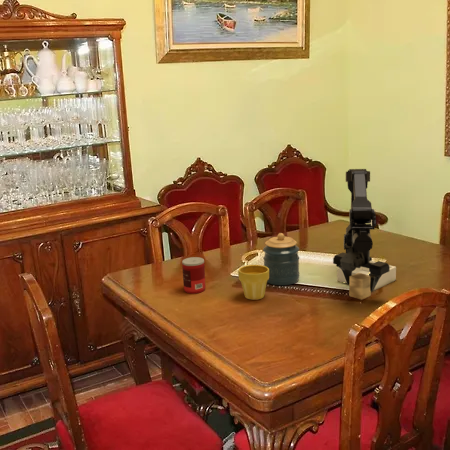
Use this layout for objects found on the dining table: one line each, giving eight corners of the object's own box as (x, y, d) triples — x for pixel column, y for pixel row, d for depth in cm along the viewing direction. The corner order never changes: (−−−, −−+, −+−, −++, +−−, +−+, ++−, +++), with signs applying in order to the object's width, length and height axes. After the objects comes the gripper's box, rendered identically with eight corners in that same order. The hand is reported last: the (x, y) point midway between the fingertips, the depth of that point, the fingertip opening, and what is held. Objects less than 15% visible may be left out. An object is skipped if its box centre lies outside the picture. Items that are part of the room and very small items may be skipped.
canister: (306, 278, 214) (306, 232, 210) (285, 288, 205) (284, 240, 201) (278, 271, 223) (277, 226, 218) (256, 280, 214) (255, 234, 209)
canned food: (208, 286, 210) (207, 257, 207) (200, 294, 203) (199, 264, 200) (189, 285, 213) (187, 256, 210) (180, 293, 205) (178, 263, 203)
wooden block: (349, 296, 196) (349, 276, 195) (358, 291, 200) (358, 272, 198) (361, 299, 193) (362, 279, 191) (370, 295, 196) (371, 275, 194)
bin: (337, 281, 210) (337, 268, 209) (361, 271, 219) (361, 258, 218) (371, 291, 199) (372, 277, 198) (395, 280, 209) (396, 266, 207)
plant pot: (253, 288, 207) (252, 262, 204) (275, 295, 200) (275, 268, 197) (233, 297, 200) (231, 269, 197) (255, 304, 193) (254, 276, 190)
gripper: (322, 243, 193) (322, 287, 197) (370, 254, 180) (369, 302, 184) (343, 236, 200) (342, 278, 204) (391, 246, 187) (389, 292, 191)
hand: (360, 287), depth 196 cm, fingers open, 9 cm apart
